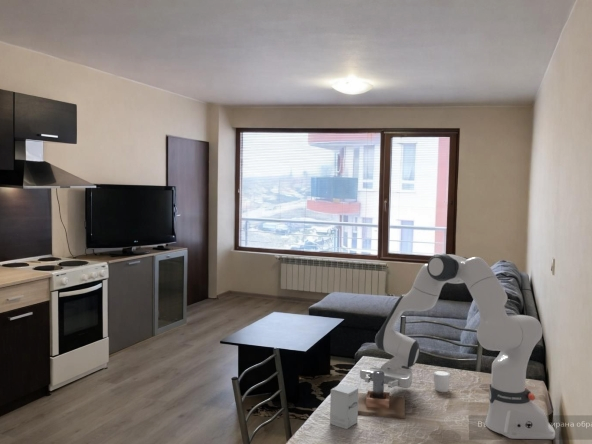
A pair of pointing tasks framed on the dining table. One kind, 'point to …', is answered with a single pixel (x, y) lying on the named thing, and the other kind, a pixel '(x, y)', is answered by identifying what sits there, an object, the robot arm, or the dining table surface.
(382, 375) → the peg
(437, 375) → the shot glass
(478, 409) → the dining table surface
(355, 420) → the supplement box
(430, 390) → the dining table surface
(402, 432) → the dining table surface
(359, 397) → the keeper board
